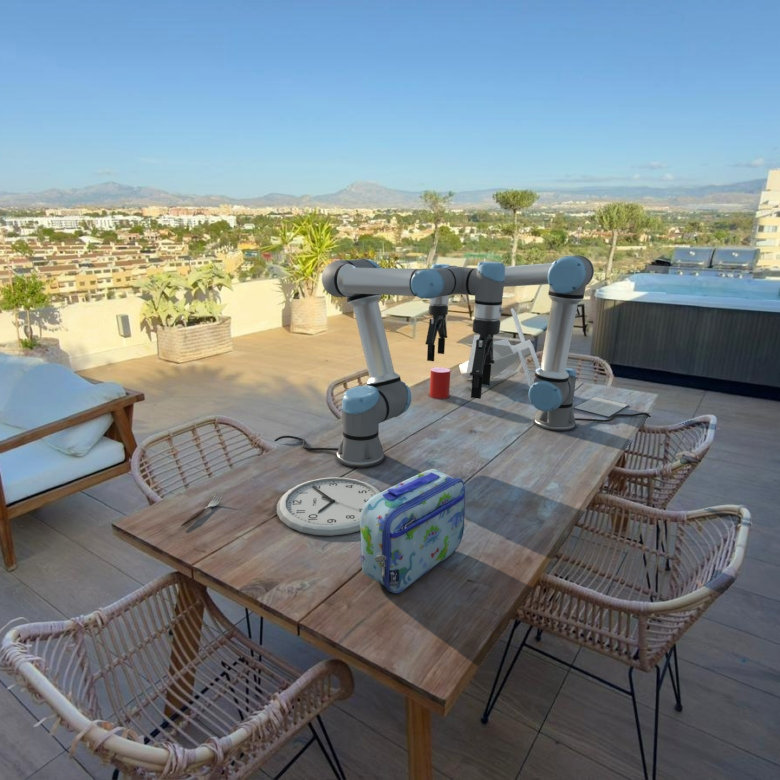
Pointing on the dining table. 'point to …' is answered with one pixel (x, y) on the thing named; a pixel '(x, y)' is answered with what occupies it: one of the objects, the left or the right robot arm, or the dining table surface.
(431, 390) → the tin
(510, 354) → the white plastic object
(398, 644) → the dining table surface
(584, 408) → the invitation card
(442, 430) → the dining table surface
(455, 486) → the lunch box
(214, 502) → the fork
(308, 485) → the wall clock
